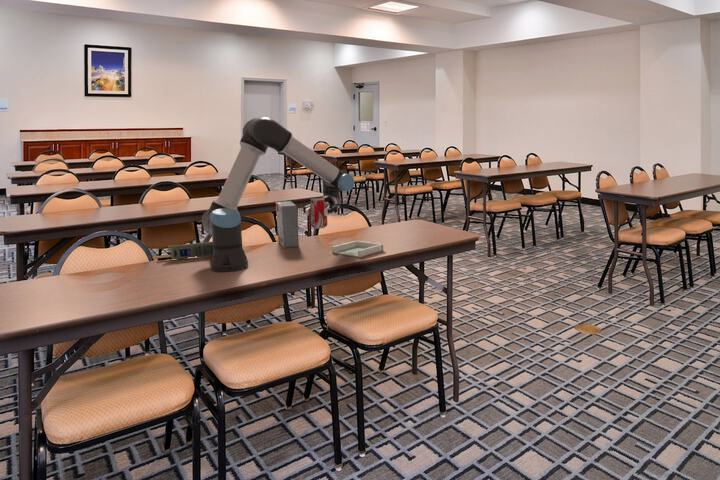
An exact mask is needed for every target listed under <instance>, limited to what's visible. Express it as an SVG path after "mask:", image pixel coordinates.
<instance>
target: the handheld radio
mask: <svg viewBox="0 0 720 480" xmlns="http://www.w3.org/2000/svg"><path fill="white" fill-rule="evenodd" d="M167 247H168V248H167V250H168V252H167V255H168V256H166V257H163V256H162V257H157V261H158V262H161V261H168V260H169V261H171V260H172V259H184V260H188V259H187V258H188V257H195V256H197V257H202V258H210V257H212V253H213V241H206V242H198V243H197V242H196V243H185V244H175V245H167Z"/></svg>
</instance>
